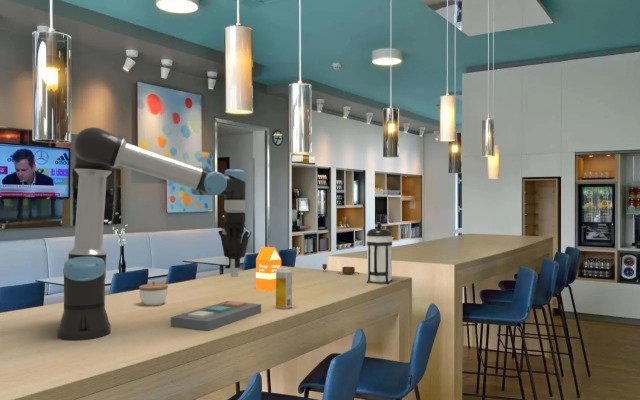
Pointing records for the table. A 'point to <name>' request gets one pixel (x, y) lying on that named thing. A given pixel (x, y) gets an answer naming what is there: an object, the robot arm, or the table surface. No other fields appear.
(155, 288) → the lidded jar
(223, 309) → the teal button
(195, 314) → the cream button
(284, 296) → the beer can
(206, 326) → the panel
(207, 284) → the table surface
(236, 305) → the terracotta button
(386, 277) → the coffee press
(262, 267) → the orange juice
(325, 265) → the place setting
